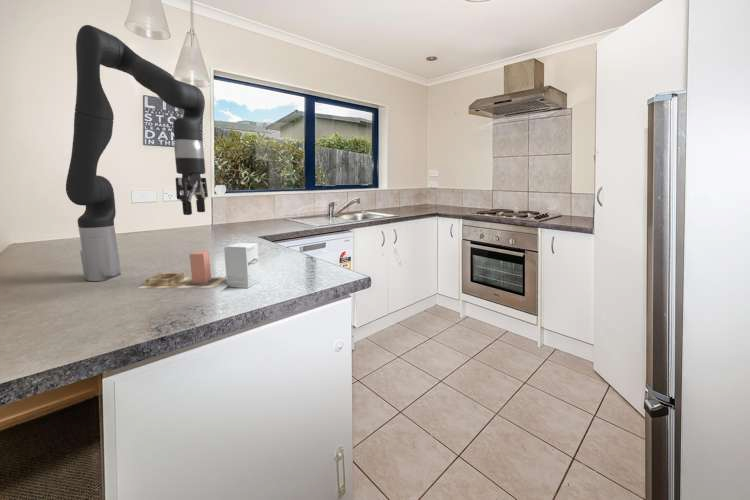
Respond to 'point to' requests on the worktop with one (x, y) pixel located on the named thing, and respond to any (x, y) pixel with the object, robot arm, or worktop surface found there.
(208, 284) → the board
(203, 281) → the block
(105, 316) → the worktop surface
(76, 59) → the robot arm
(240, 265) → the supplement box
